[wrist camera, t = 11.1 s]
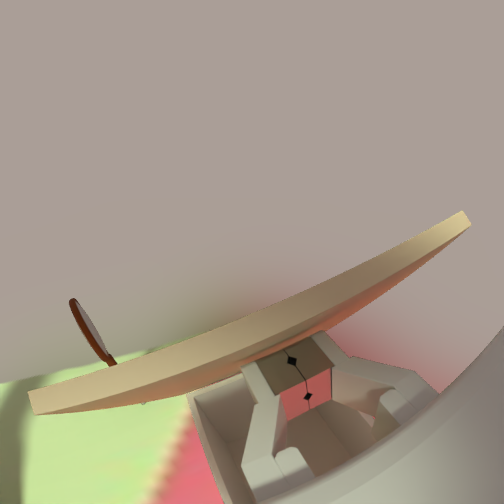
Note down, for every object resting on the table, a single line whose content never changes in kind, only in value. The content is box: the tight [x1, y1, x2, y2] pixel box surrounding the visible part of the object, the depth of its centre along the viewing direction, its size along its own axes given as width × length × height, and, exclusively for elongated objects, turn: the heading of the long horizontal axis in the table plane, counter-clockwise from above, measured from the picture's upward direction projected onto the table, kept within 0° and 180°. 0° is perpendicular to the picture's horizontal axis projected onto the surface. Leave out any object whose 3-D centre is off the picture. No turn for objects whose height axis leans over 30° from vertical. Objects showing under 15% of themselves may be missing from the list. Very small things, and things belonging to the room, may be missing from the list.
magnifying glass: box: [69, 298, 145, 405], centre depth 33 cm, size 9×2×20 cm, turn 41°
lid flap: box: [27, 211, 471, 415], centre depth 16 cm, size 14×22×1 cm
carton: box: [186, 373, 377, 504], centre depth 21 cm, size 13×20×12 cm, turn 21°
